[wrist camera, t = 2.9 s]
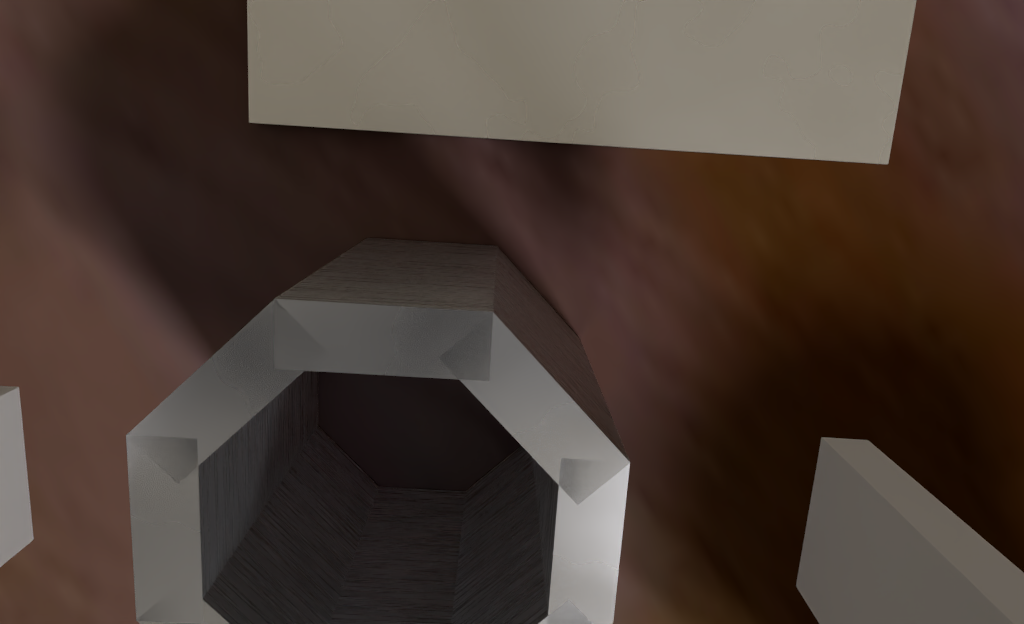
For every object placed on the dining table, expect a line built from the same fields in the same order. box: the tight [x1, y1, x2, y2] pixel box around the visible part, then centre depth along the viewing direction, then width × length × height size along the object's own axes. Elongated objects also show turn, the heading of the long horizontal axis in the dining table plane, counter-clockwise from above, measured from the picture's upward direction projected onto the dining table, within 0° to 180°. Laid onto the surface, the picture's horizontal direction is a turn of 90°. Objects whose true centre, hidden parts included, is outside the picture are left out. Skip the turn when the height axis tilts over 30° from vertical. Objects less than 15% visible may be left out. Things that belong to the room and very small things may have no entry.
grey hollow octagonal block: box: [126, 238, 630, 624], centre depth 14 cm, size 7×7×7 cm
